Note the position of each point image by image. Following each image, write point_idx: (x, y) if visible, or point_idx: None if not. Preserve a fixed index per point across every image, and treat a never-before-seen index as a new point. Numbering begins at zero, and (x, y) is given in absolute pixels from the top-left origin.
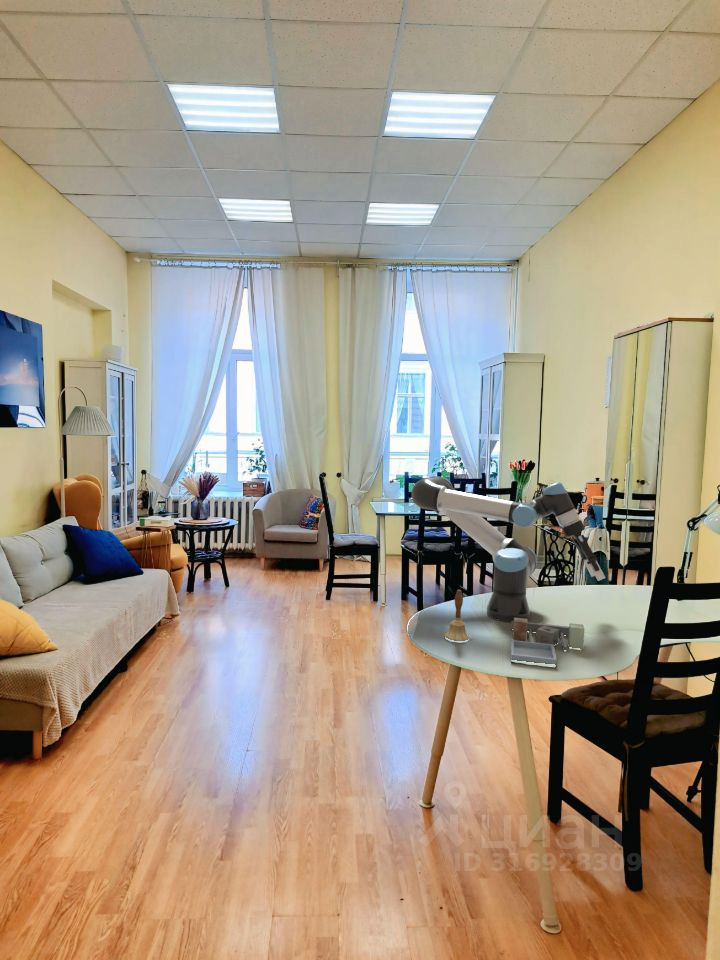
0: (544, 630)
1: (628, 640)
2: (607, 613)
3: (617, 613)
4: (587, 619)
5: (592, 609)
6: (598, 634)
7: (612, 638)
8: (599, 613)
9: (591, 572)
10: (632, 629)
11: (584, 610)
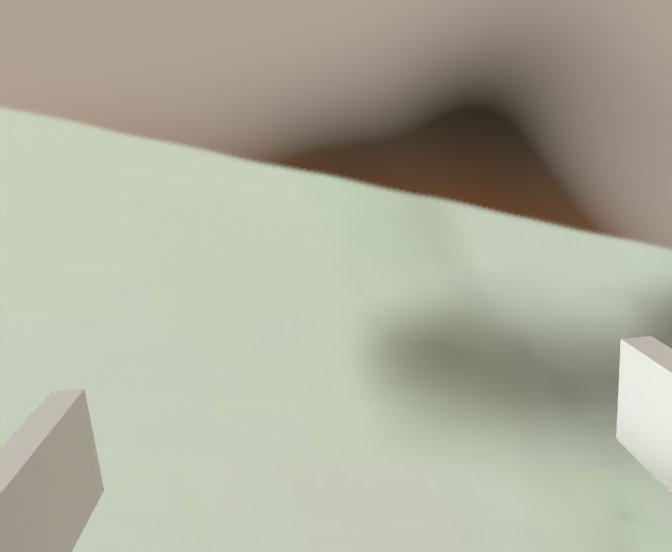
0: None
1: (636, 265)
2: (113, 328)
3: (87, 256)
4: (330, 488)
5: None
6: None
7: None
8: (134, 388)
9: (76, 508)
10: (425, 212)
11: None
